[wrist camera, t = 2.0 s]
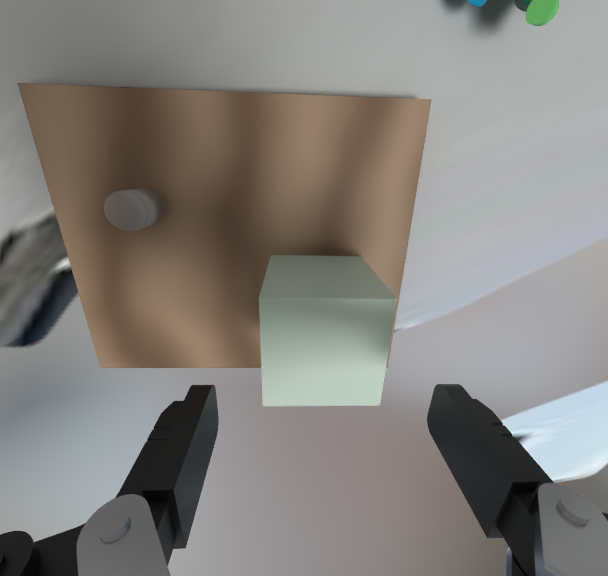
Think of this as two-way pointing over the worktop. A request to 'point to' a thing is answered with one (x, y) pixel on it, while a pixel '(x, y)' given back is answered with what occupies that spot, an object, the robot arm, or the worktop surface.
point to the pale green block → (323, 331)
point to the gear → (532, 9)
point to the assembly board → (216, 205)
